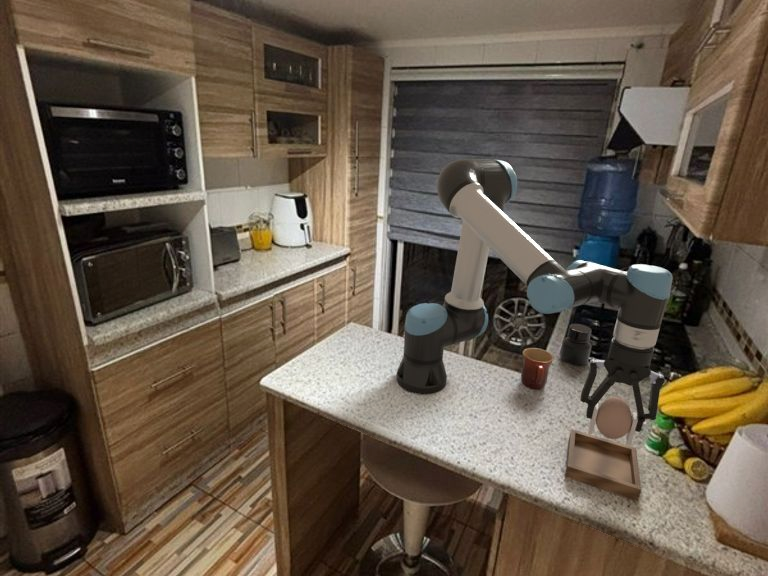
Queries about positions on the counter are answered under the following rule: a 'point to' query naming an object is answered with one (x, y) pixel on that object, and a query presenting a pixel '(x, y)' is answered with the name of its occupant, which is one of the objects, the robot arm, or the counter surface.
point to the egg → (614, 418)
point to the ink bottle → (576, 345)
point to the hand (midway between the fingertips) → (609, 435)
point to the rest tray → (603, 464)
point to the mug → (535, 368)
